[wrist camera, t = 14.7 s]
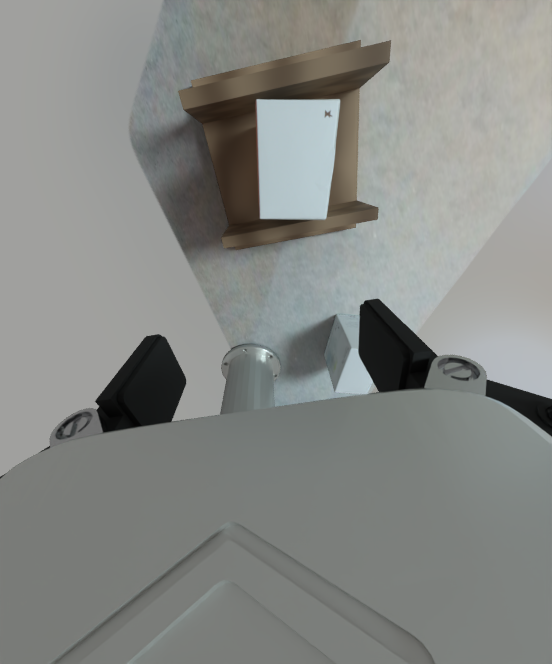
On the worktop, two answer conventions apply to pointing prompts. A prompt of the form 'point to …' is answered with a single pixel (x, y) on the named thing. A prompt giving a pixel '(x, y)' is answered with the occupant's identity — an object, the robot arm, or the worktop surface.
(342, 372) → the skincare box
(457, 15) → the worktop surface
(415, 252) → the worktop surface
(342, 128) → the book rack
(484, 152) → the worktop surface
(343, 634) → the robot arm
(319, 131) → the small box
